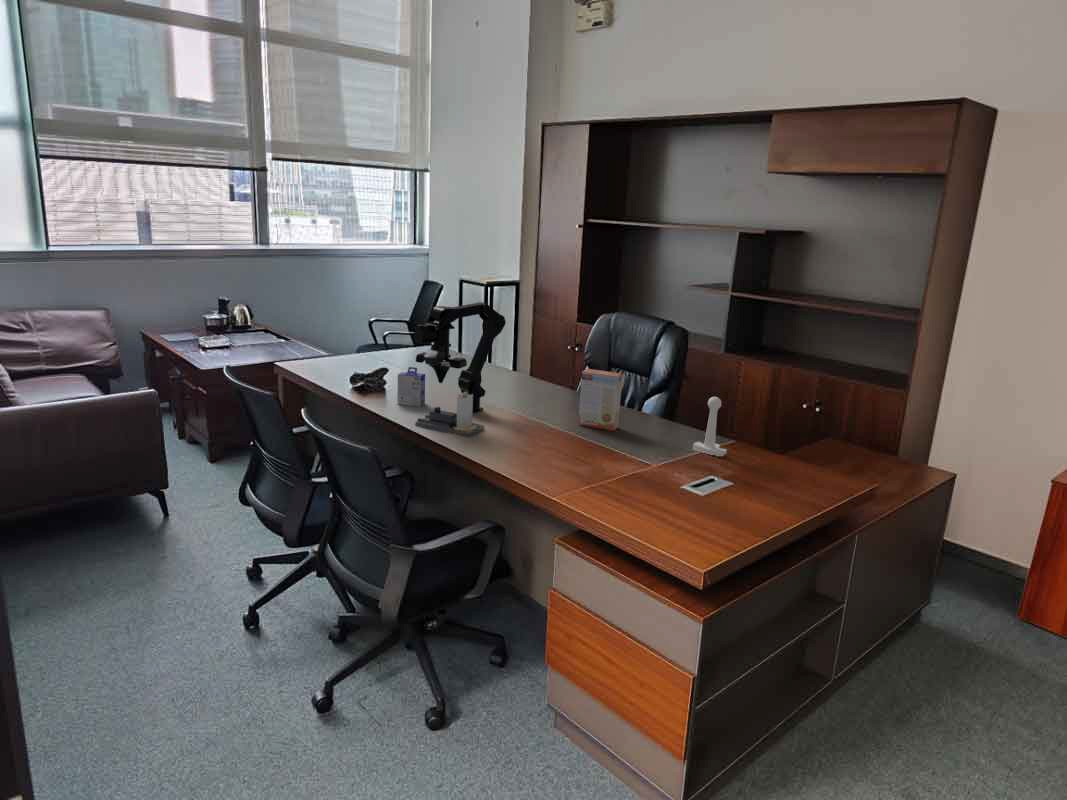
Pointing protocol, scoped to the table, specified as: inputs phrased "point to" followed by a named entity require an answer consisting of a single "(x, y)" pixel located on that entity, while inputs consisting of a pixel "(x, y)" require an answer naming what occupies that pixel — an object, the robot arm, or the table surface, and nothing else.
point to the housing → (464, 410)
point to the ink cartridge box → (411, 388)
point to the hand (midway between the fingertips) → (440, 382)
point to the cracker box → (600, 399)
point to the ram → (443, 416)
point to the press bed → (448, 427)
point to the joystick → (711, 431)
